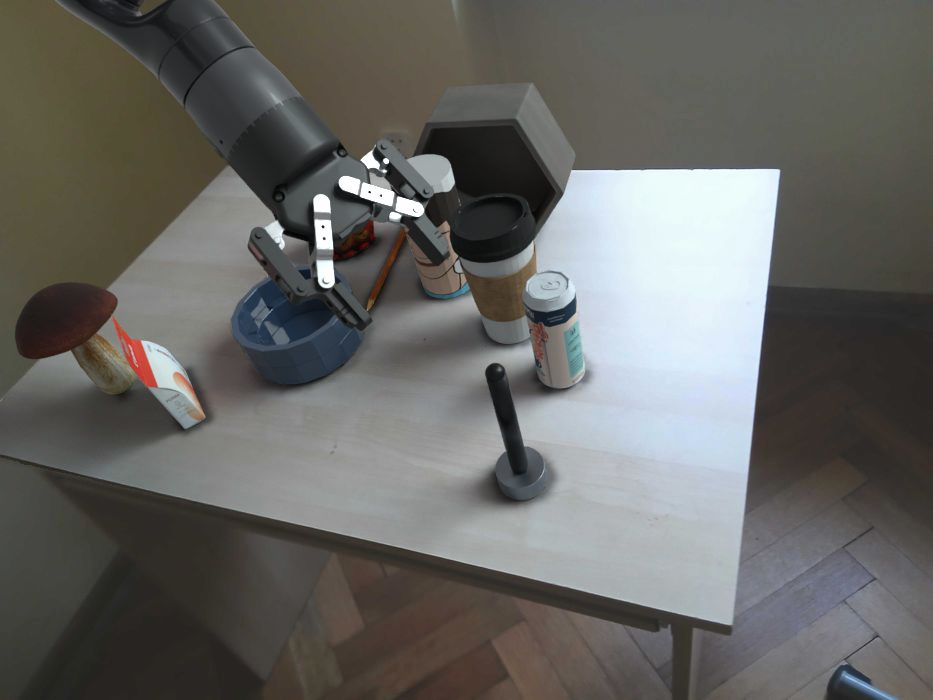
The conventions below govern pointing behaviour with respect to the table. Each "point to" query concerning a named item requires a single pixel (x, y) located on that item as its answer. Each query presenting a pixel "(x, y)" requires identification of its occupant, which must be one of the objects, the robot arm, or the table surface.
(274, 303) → the bowl
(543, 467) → the rod on round base
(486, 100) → the grey hexagonal shelf
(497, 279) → the coffee cup
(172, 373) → the ink box
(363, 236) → the red clay folk toy
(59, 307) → the decorative mushroom
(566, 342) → the beer can
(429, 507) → the table surface
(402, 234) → the pencil
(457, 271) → the cup
